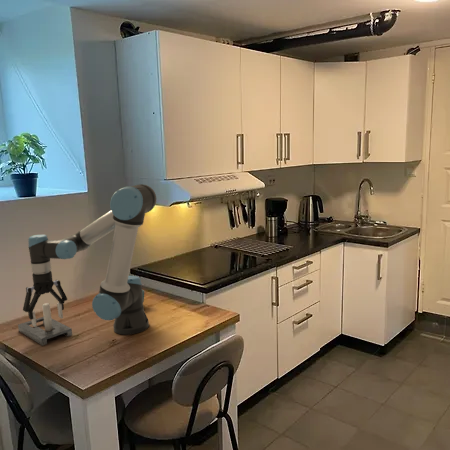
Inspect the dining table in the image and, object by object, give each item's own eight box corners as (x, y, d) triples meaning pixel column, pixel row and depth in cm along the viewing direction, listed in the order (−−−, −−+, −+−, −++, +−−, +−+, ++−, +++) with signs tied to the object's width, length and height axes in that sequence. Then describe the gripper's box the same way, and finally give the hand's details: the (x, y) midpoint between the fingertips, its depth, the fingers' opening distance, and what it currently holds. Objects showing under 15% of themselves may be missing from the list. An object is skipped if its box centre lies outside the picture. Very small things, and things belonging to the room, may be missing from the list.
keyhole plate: (72, 335, 191) (71, 328, 190) (42, 345, 181) (41, 338, 181) (47, 321, 207) (46, 315, 207) (18, 330, 198) (17, 324, 198)
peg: (59, 335, 191) (55, 303, 189) (45, 339, 187) (41, 308, 185) (53, 331, 195) (49, 301, 193) (39, 336, 191) (35, 305, 189)
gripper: (64, 264, 197) (69, 311, 201) (9, 277, 181) (16, 328, 185) (72, 266, 192) (77, 315, 196) (16, 280, 176) (23, 332, 179)
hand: (47, 321), depth 190 cm, fingers open, 11 cm apart
